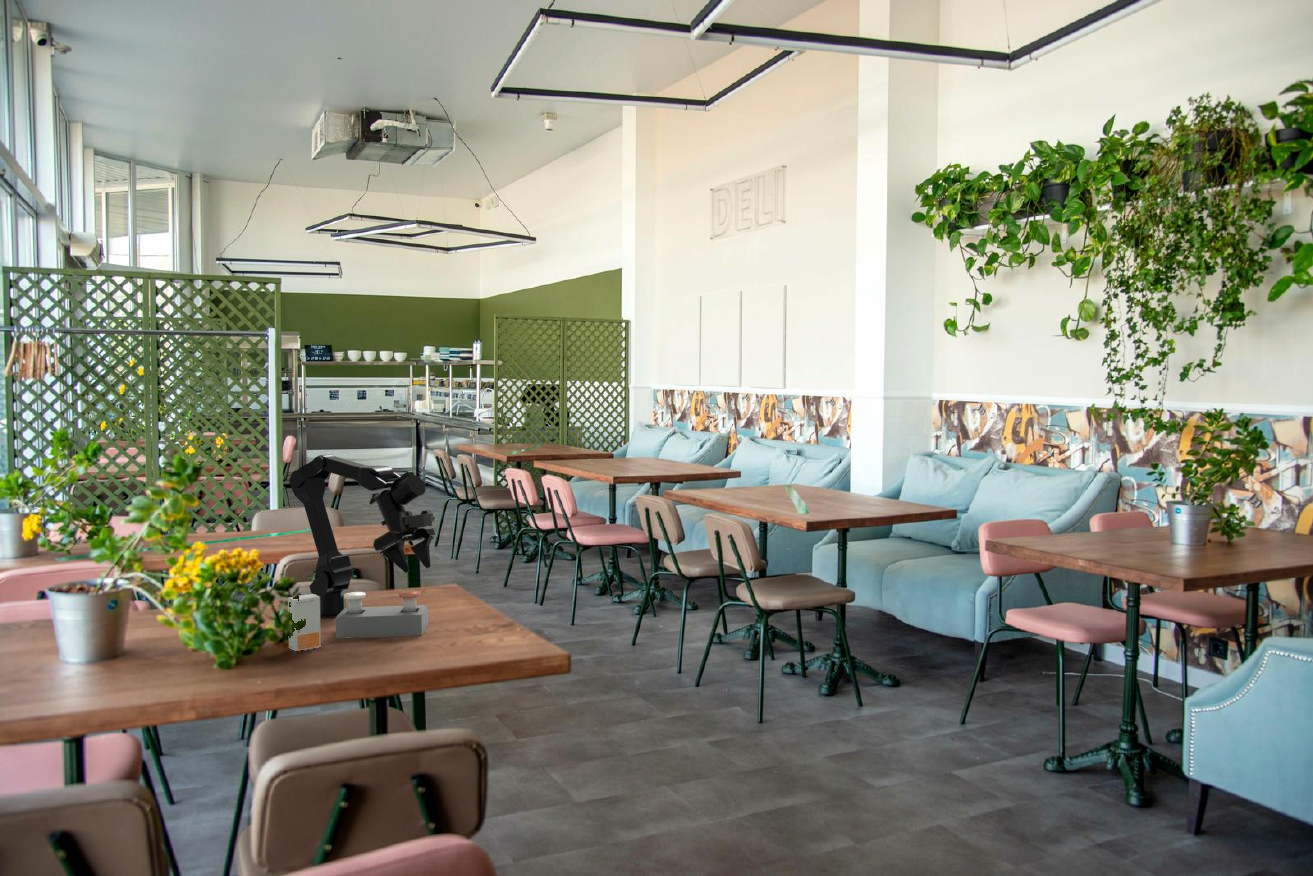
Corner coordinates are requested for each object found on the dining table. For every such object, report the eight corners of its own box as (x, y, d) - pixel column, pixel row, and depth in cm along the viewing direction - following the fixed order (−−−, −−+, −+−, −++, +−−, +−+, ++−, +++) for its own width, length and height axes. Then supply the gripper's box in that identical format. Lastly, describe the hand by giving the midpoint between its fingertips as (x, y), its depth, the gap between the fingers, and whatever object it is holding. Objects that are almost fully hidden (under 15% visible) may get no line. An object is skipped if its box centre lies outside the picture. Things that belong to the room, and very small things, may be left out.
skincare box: (295, 653, 214) (293, 600, 214) (288, 649, 218) (286, 597, 217) (322, 647, 218) (320, 596, 218) (314, 644, 222) (313, 593, 221)
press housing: (336, 638, 226) (335, 617, 226) (345, 627, 236) (345, 607, 236) (421, 635, 228) (421, 614, 228) (427, 624, 238) (427, 605, 238)
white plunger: (342, 617, 229) (341, 596, 228) (347, 612, 234) (346, 592, 233) (363, 616, 229) (363, 596, 229) (368, 611, 234) (367, 591, 234)
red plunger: (397, 615, 230) (397, 595, 230) (401, 610, 235) (400, 590, 235) (418, 614, 230) (418, 594, 230) (421, 610, 235) (421, 589, 235)
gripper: (396, 500, 226) (422, 559, 224) (439, 497, 244) (463, 552, 241) (361, 520, 230) (386, 579, 227) (406, 516, 247) (429, 570, 245)
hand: (418, 569), depth 235 cm, fingers open, 9 cm apart
